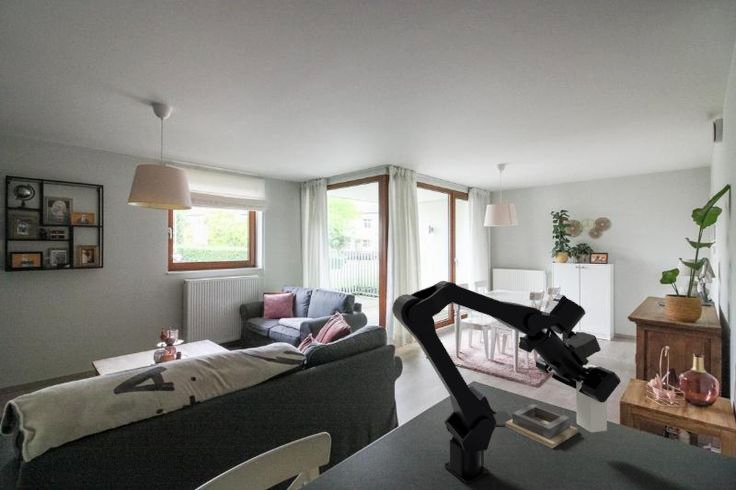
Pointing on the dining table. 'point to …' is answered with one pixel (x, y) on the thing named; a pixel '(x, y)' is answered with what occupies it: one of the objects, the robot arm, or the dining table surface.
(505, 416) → the smartphone
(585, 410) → the block
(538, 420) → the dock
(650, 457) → the dining table surface
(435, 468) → the dining table surface
